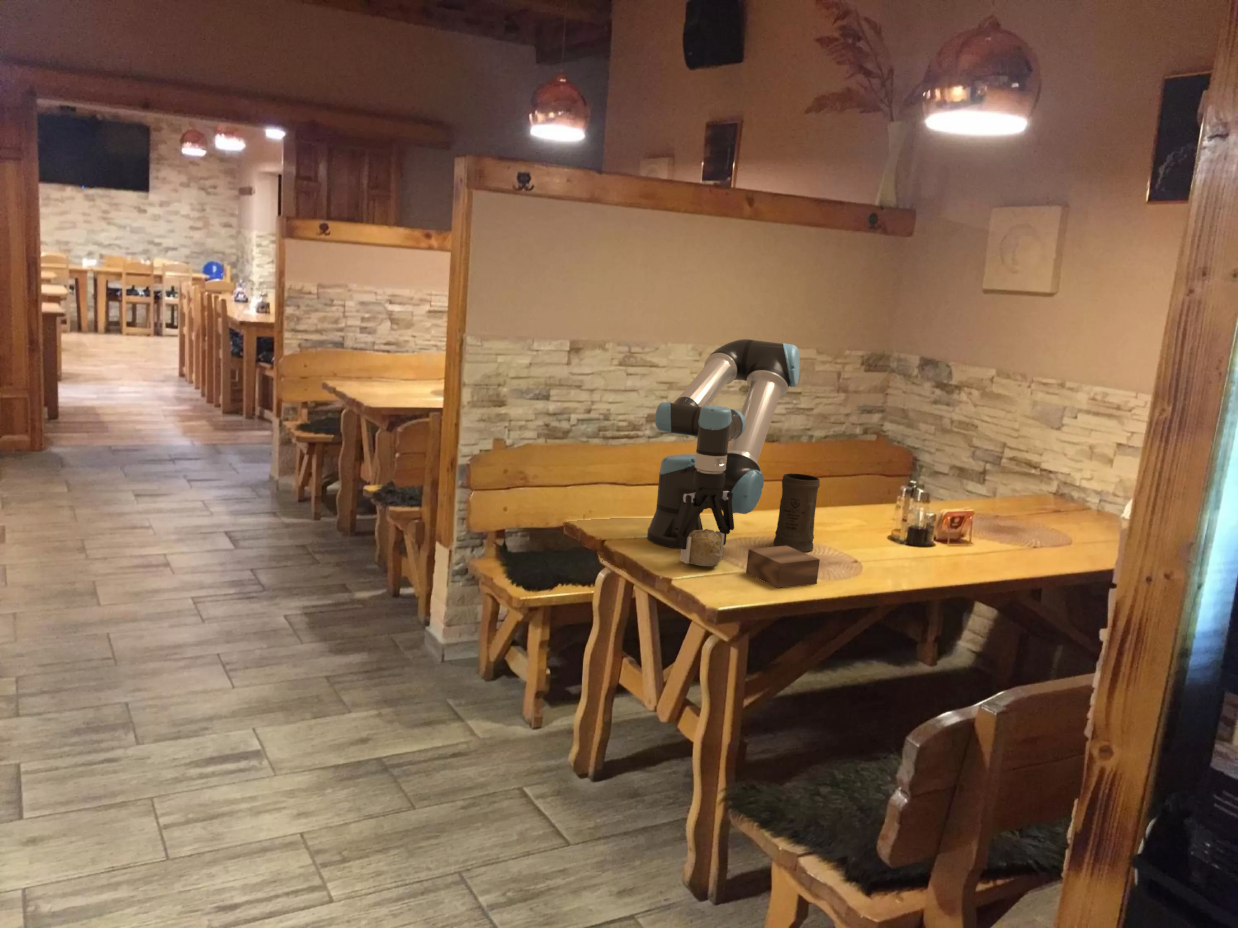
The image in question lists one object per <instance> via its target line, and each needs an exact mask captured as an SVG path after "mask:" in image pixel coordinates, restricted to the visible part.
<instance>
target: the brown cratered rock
mask: <svg viewBox="0 0 1238 928" xmlns="http://www.w3.org/2000/svg"><path fill="white" fill-rule="evenodd" d="M689 536H690V537H691V547H690V557H689V563H688V564H690V565H696V566H701V567H712V566H713V567H714V566H716V565H718V564H719V563H720V561H721V559H720V557H721V550H722V544H721V539H720V537H719V535H718V533H716V531H714V530H713V529H708V528H706V529H703V530H694V531H693V532H691V533H690V534H689Z"/></svg>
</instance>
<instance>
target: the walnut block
mask: <svg viewBox="0 0 1238 928" xmlns="http://www.w3.org/2000/svg"><path fill="white" fill-rule="evenodd" d="M747 551H748V552H747V558H746V559H747V560H746V567H745V568H746V570H745V573H746V574H747V573H748V574H747V575H749V574H750V576H751V575H752V577H754V578H756V577H757V578H756V579H758V578H759V579H758V580H760V579H761V580H760V581H762V580H763V581H762V582H764V581H765V582H764V583H766V582H767V583H766V584H768V583H769V585H770V584H771V585H770V586H772V585H773V586H772V587H774V586H775V587H774V588H776V587H777V589H781V588H780V587H785V588H787V587H786V586H793V587H799V586H798V585H801V586H807V584H809V585H815V584H817V583H818V577H819V569H820V560H821V559H820V558H818V557H815V556H812V555H811V554H808V553H807V552H801V551H799V550H796V549H794V548H791V547H789V546H776V547H775V546H768V547H758V548H757V547H755V548H748V550H747Z"/></svg>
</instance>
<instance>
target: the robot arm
mask: <svg viewBox="0 0 1238 928" xmlns="http://www.w3.org/2000/svg"><path fill="white" fill-rule="evenodd" d="M800 360H801V359H800V351H799V348H798V347H797V346H796V345H795V344H792V343H791V344H790V343H785V342H781V343H780V342H773V341H764V340H756V339H749V338H746V339H742V338H741V339H738V340H737V339H736V340H733V341H731V342H728V343H725V344H724V345H721V346H720V347H718V348H717V349H715V350H714V351H712V352H711V353H710V354H709V355H708V357H707V358H706V359H705V360H704V365H703V368H702V369H701V371H700V372H699V373H698V374H697V375H696V377H695V378H693V380H692V381H691V382H690V383H689V384H688V386H686V388H685V389H684V391H683V392H682V393H681V394H680V395H679V396H678V397H677V399H675V400H674V402H671V401H663V402H660V403H659V404H658V405H657V408H656V411H655V416H654V422H655V427H656V428H657V430H659V431H661V432H666V433H669V434H676V435H684V436H691V437H696V438H697V440H696V451H695V454H690V453H688V454H687V453H686V454H682V453H681V454H674V455H673V454H672V455H668V456H665V457H664V458H663V459H662V460H661V461H660V469H659V473H658V475H659V476H658V485H657V486H658V487H657V499H656V510H655V513H654V515H653V517H652V519H651V521H650V525H649V527H648V528H647V536H646V539H647V540H648V541H649V542H651V543H652V544H653V543H654V544H656V545H659V546H664V547H667V548H675V549H676V548H677V549H680V556H679V560H680V561H681V562H683V563H685V564H690V563H689V557H690V547H691V537H690V536H689V534H690V533H691V532H693V531H694V530H704V528H703V523H702V518H701V514H702V513H704V510H708V509H711V512H712V515H713V518H714V521H715V523H716V527H717V529H718V530H719V531H718V530H716V531H715V532H716V533H718V535H719V537H720V539H721V544H722V550H721V557H720V560H723V554H724V546H725V545H726V543H727V542H726V541H727V535H729V534H730V533H731V531H734V529H735V522H734V514H743V515H746V514H749V513H751V512H753V510H755V508H756V507H757V505H758V503H759V501H760V499H761V496H762V493H763V488H764V484H765V483H764V481H765V477H764V474H763V472H761V466H760V465H759V463H758V462H759V460H760V455H761V453H762V452H763V451H762V450H763V447H764V444H765V441H766V437H767V436H768V433H769V429H770V427H771V424H772V420H773V417H774V414H775V411H776V408H777V406H778V402H779V400H780V398H781V397H784V396H785V395H787V393H788V391H789V388H795V387H797V386H798V384H799V380H800V369H801V368H800V367H801V361H800ZM734 381H745V382H746V383H747V386H748V387H749V388H748V391H747V394H746V396H745V400H744V403H743V405H742V408H741V410H740V411H739V410H737V409H734V408H729V407H726V406H721V405H711V403H712V402H713V401H714V400H715V398H717V396H718V395H719V394H720V393H721V392H722V390H723V389H724V387H725V386H726V385H730V384H731V383H732V382H734Z"/></svg>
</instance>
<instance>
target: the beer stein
mask: <svg viewBox="0 0 1238 928" xmlns="http://www.w3.org/2000/svg"><path fill="white" fill-rule="evenodd" d="M820 486H821V483H820V478H819V477H817V476H813V475H811V474H801V473H784V474H783V476H782V479H781V489H782V490H781V498H780V503H779V511H778V518H777V523H776V525H777V527H776V530H775V537H774V539H773V541H772V544H773V547H776V546H789V547H791V548H794V549H796V550H799V551H801V552H803V553H809V552H811V551H813V550H814V543H813V541H814V539H815V535H814V531H815V529H814V528H815V516H816V508H817V507H816V506H817V500H818V497H817V496H818V491H819V488H820Z"/></svg>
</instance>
